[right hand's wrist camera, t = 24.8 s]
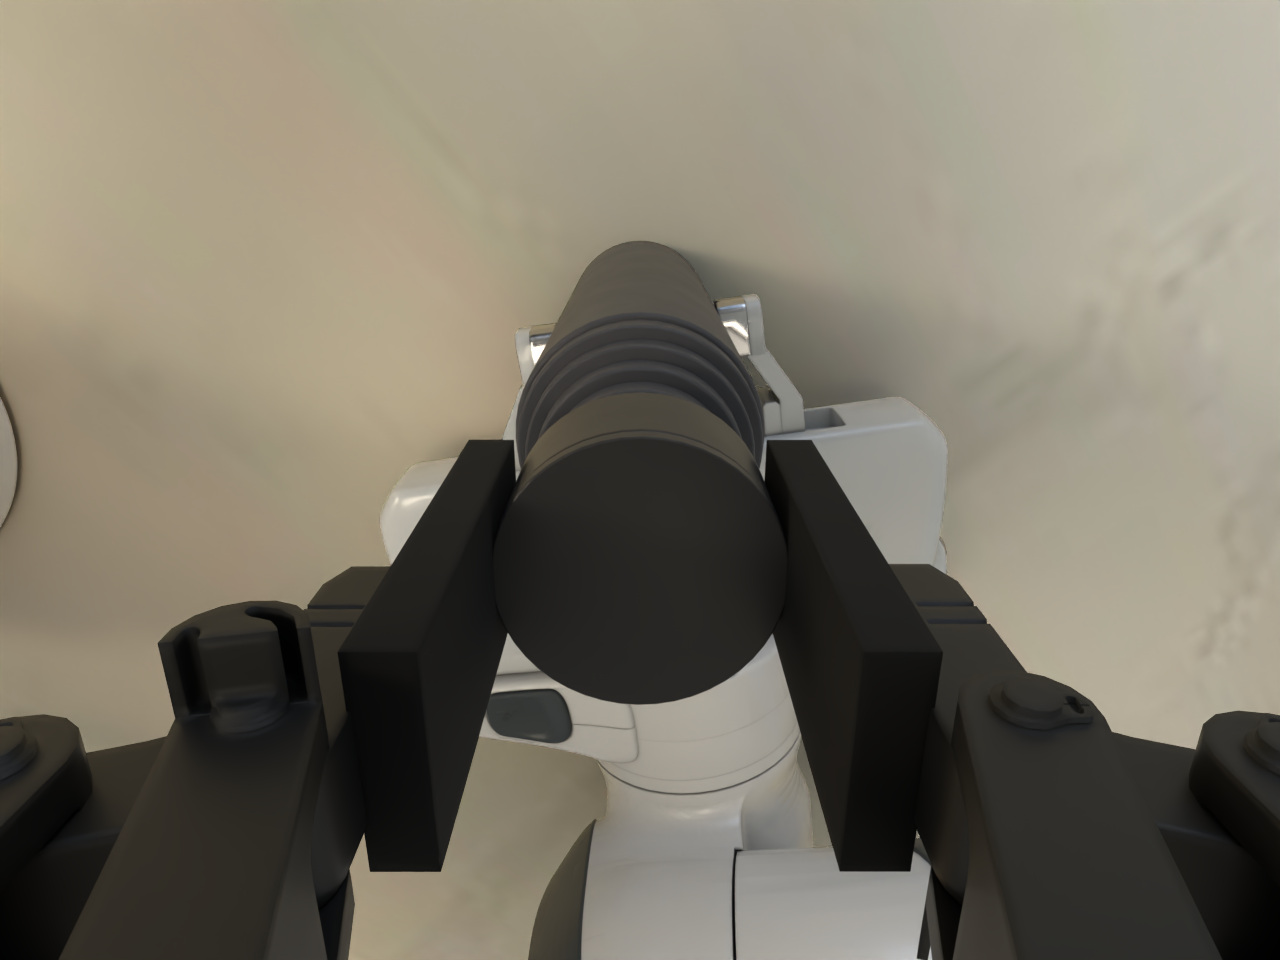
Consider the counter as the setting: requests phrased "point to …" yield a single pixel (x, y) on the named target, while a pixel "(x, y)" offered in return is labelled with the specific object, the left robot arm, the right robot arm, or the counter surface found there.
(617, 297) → the bottle
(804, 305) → the counter surface
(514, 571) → the cap
